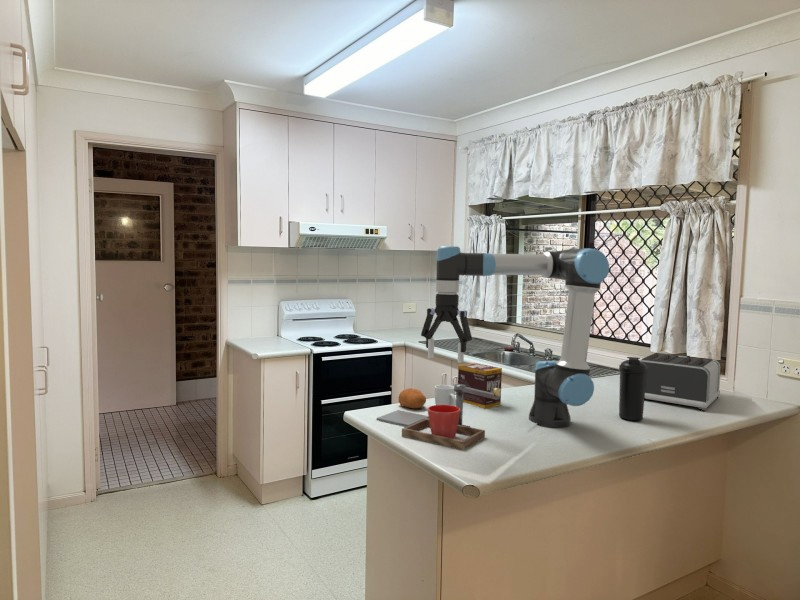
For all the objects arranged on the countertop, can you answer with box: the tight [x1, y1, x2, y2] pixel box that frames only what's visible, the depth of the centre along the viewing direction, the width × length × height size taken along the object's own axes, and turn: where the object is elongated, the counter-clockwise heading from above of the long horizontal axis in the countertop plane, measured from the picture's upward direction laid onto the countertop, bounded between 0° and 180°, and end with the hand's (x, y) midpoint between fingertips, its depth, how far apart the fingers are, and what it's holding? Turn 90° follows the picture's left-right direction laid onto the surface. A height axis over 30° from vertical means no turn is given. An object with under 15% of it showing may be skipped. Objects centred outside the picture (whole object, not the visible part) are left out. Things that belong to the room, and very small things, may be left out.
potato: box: [398, 387, 427, 410], centre depth 222 cm, size 9×11×8 cm
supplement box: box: [457, 362, 503, 410], centre depth 232 cm, size 10×15×16 cm
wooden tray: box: [401, 418, 486, 451], centre depth 187 cm, size 23×16×2 cm
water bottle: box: [618, 356, 648, 421], centre depth 216 cm, size 10×10×23 cm
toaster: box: [639, 352, 721, 411], centre depth 251 cm, size 31×36×18 cm
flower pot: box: [427, 404, 460, 439], centre depth 187 cm, size 11×11×10 cm
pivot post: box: [455, 392, 471, 427], centre depth 196 cm, size 6×6×13 cm
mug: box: [434, 384, 456, 406], centre depth 219 cm, size 11×8×9 cm
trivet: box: [376, 409, 429, 427], centre depth 206 cm, size 14×14×1 cm
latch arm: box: [453, 383, 502, 400], centre depth 189 cm, size 4×19×4 cm, turn 43°
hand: (445, 360), depth 185 cm, fingers open, 10 cm apart
